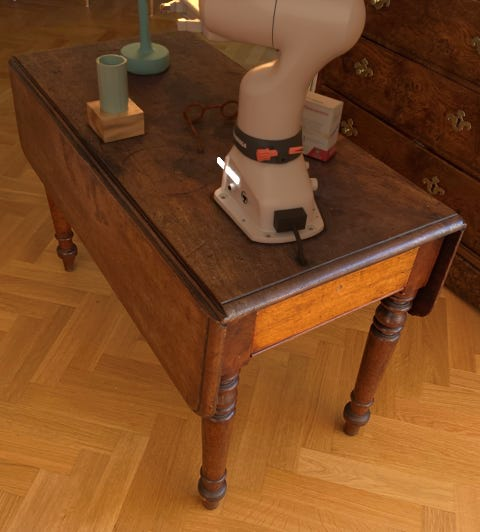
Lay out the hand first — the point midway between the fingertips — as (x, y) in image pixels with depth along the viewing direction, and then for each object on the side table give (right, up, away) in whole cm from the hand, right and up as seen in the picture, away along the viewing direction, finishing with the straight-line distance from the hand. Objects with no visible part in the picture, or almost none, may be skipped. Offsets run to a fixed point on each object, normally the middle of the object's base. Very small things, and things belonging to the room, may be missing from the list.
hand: (168, 17), depth 119 cm
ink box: (+29, -25, +9) cm, 39 cm away
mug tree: (-10, +2, +36) cm, 38 cm away
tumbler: (-12, -16, +8) cm, 21 cm away
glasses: (+10, -21, +12) cm, 26 cm away
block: (-12, -20, +11) cm, 25 cm away
